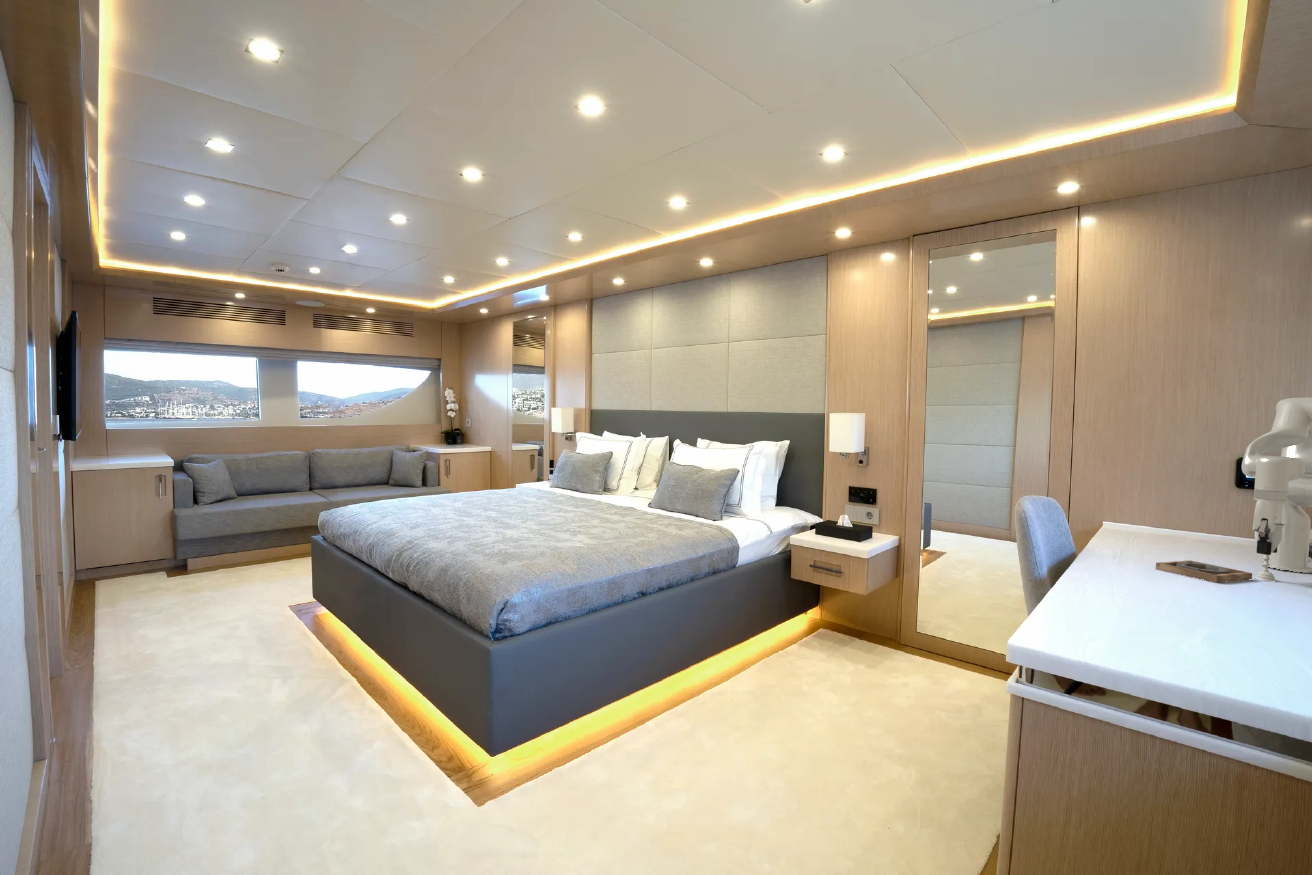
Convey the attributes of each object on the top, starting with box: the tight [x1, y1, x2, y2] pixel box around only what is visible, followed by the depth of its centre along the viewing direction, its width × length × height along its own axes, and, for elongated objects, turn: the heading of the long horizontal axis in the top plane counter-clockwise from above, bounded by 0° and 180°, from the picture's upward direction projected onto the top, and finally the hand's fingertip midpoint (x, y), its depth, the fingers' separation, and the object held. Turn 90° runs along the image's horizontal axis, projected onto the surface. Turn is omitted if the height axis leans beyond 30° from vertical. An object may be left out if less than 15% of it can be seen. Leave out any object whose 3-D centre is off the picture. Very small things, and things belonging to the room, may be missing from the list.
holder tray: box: [1155, 560, 1253, 584], centre depth 197 cm, size 17×17×2 cm
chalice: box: [1254, 524, 1285, 582], centre depth 193 cm, size 7×7×18 cm
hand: (1266, 552), depth 193 cm, fingers open, 6 cm apart
